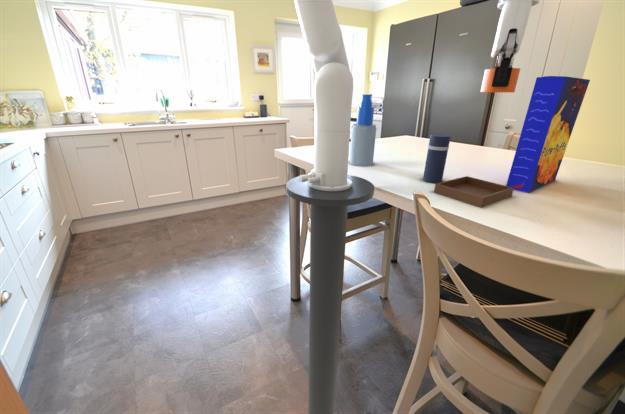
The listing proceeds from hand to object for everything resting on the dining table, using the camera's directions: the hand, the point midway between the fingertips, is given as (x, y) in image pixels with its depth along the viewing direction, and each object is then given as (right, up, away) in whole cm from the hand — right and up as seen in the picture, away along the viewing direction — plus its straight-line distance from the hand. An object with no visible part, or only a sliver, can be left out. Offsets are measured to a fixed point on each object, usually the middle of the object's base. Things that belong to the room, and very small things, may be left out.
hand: (498, 86), depth 67 cm
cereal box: (+24, -22, +20) cm, 38 cm away
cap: (0, -1, 0) cm, 1 cm away
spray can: (-6, -20, +22) cm, 31 cm away
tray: (0, -25, +10) cm, 27 cm away
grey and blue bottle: (-25, -12, +43) cm, 51 cm away
